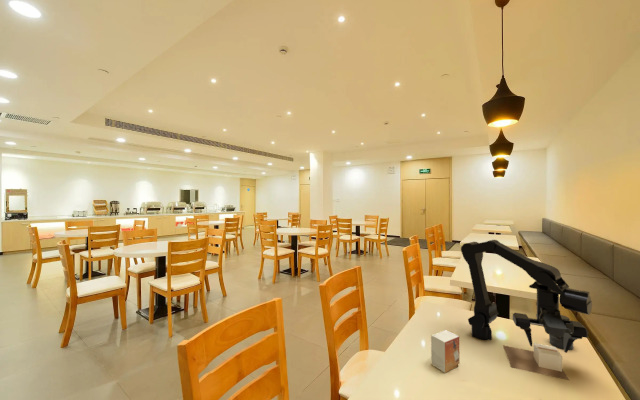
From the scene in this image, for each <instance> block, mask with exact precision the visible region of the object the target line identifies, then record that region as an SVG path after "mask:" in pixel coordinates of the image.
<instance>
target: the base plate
mask: <svg viewBox="0 0 640 400" xmlns="http://www.w3.org/2000/svg"><path fill="white" fill-rule="evenodd" d="M502 347H503V349H504V353H505V355H506V357H507V361H508V362H509V365H510V368H512V369H517V370H522V371H526V372H531V373H535V374H538V375H539V374H540V375H544V376H548V377H552V378H553V377H554V378H557V379H563V380H567V381H570V378H569V376H568V375H567V374H566V372H565V371H564V369H563V368H562V372H561V371H557V370H552V369H547V368H542V367H539V366H538V364H537V362H536V360H535V358H534V350H529V349H523V348H518V347H514V346H507V345H502Z"/></svg>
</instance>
